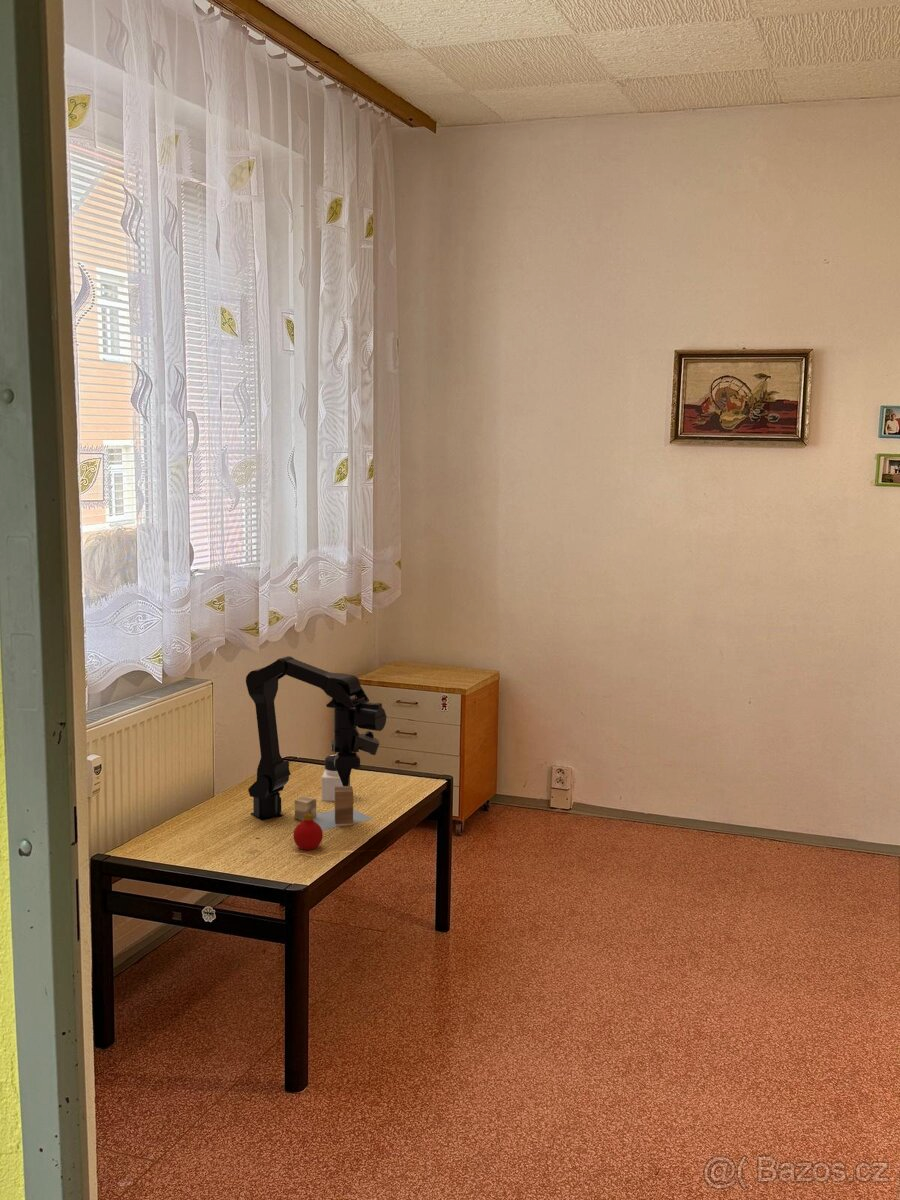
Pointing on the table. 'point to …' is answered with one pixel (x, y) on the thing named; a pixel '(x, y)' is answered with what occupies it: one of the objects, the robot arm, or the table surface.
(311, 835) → the christmas ornament
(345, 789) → the walnut block
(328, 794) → the medicine bottle
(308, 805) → the maple block
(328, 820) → the mat
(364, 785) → the table surface
